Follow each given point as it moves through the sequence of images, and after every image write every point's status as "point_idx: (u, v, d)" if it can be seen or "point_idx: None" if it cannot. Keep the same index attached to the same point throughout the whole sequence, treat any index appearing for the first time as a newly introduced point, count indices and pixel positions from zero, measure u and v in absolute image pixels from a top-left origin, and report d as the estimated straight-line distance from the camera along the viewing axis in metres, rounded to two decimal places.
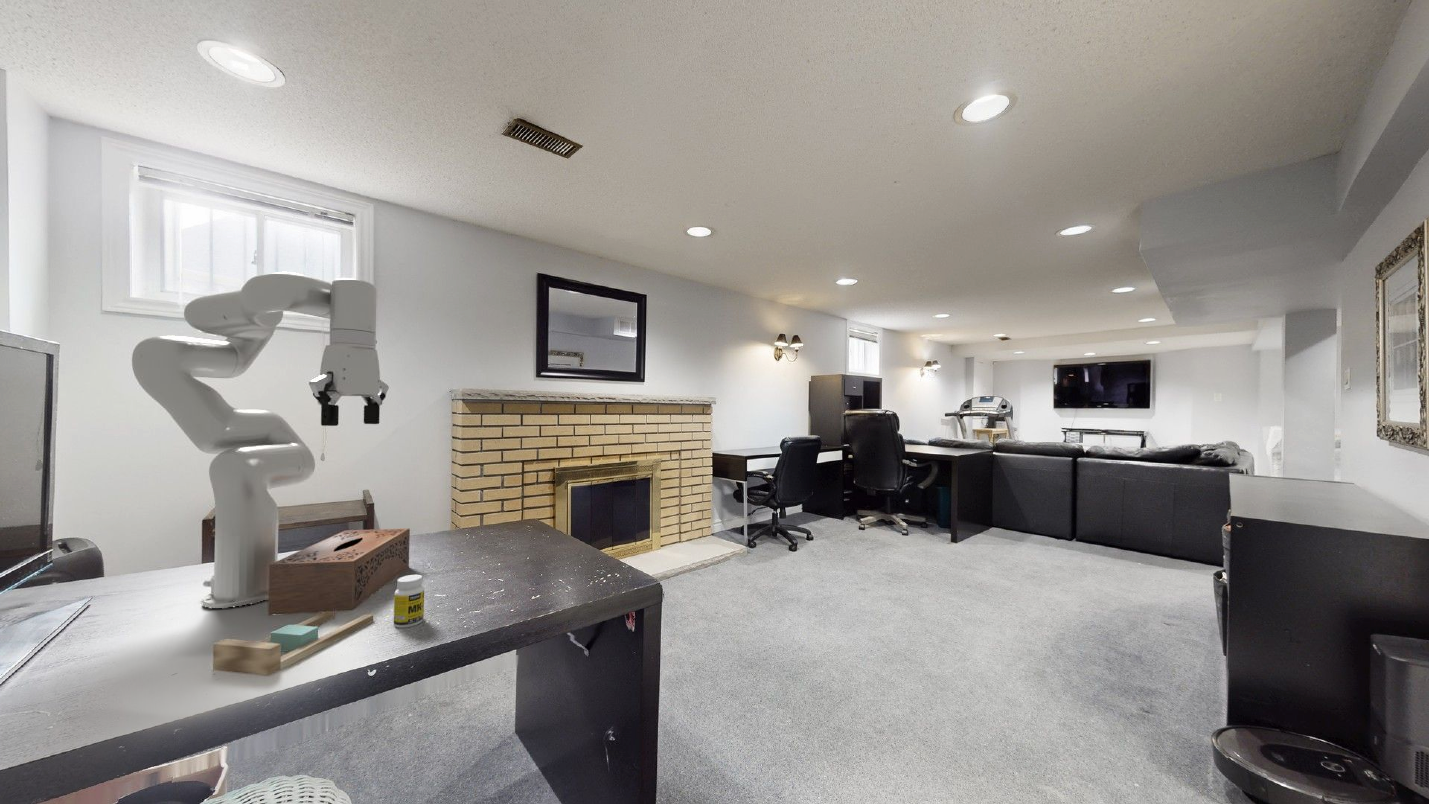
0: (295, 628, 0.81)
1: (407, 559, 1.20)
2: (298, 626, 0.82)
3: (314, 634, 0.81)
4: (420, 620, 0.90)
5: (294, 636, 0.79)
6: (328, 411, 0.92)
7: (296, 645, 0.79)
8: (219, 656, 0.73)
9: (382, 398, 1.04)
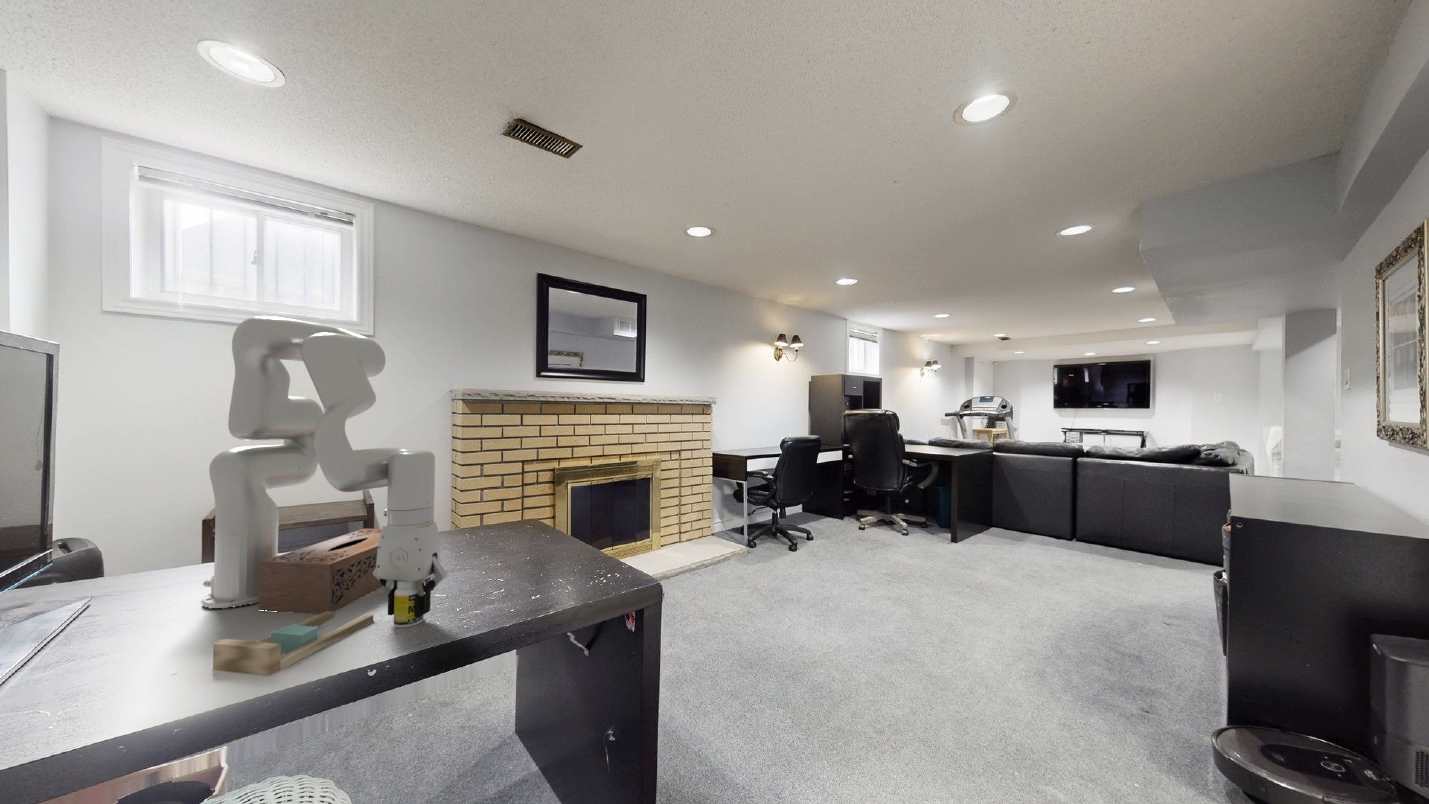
0: (295, 628, 0.81)
1: None
2: (298, 626, 0.82)
3: (314, 634, 0.81)
4: (420, 620, 0.90)
5: (294, 636, 0.79)
6: (430, 598, 0.90)
7: (296, 645, 0.79)
8: (219, 656, 0.73)
9: None
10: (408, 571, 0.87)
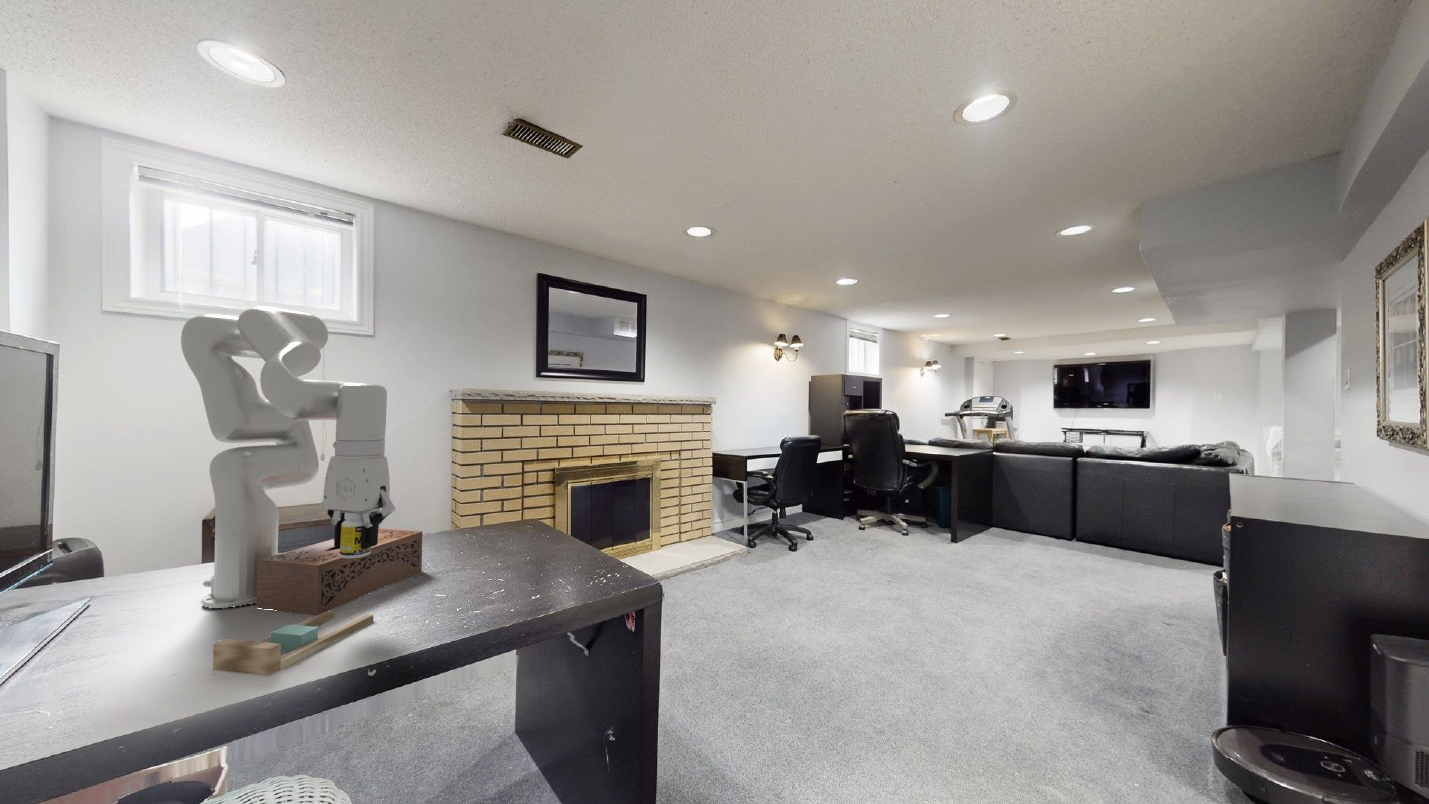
0: (295, 628, 0.81)
1: (418, 563, 1.17)
2: (298, 626, 0.82)
3: (314, 634, 0.81)
4: (367, 552, 0.90)
5: (294, 636, 0.79)
6: (377, 531, 0.90)
7: (296, 645, 0.79)
8: (219, 656, 0.73)
9: None
10: (355, 502, 0.87)
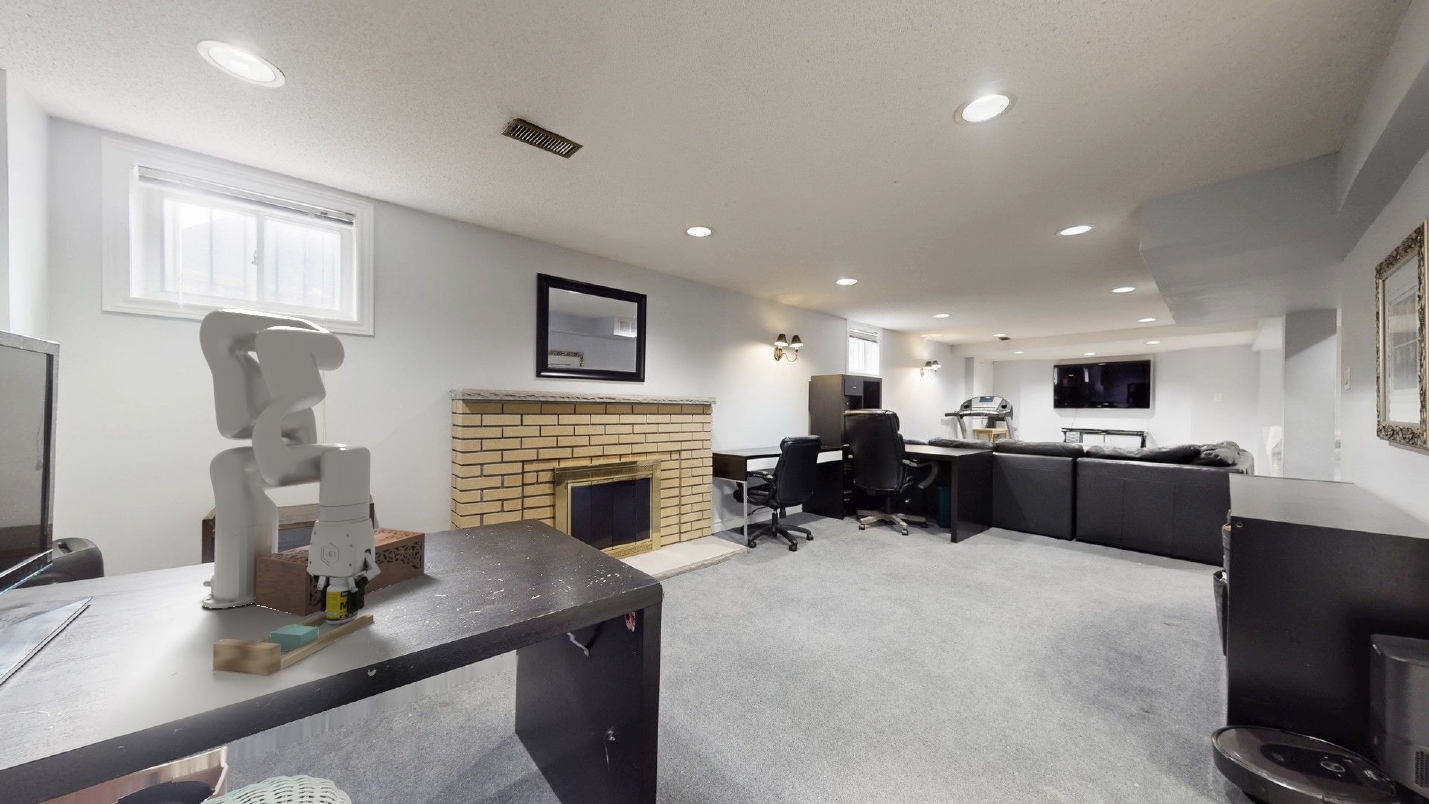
0: (295, 628, 0.81)
1: (420, 565, 1.15)
2: (298, 626, 0.82)
3: (314, 634, 0.81)
4: (353, 616, 0.89)
5: (294, 636, 0.79)
6: (363, 594, 0.90)
7: (296, 645, 0.79)
8: (219, 656, 0.73)
9: None
10: (339, 567, 0.87)
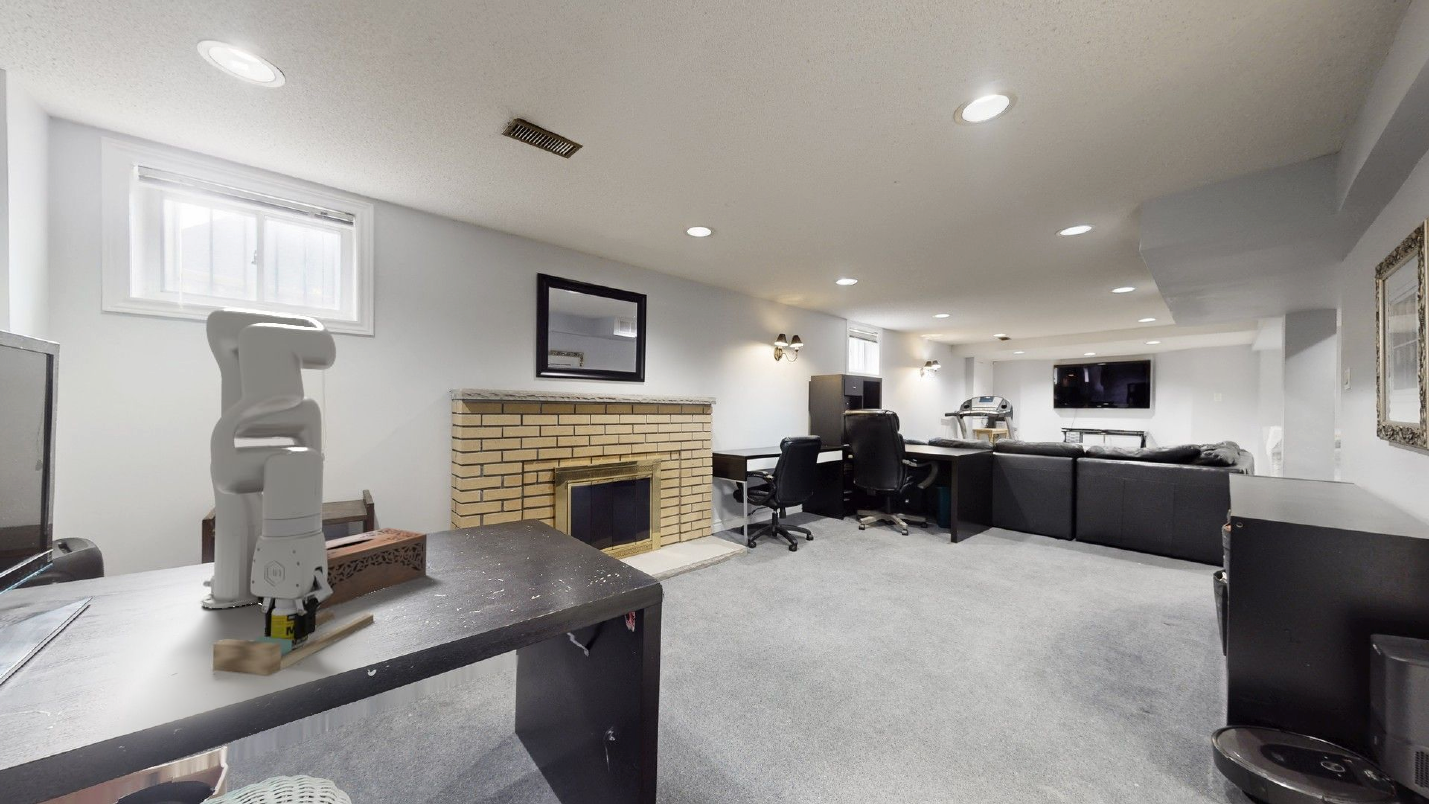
0: (267, 641, 0.77)
1: (422, 566, 1.14)
2: (270, 639, 0.77)
3: (287, 647, 0.77)
4: (302, 642, 0.80)
5: None
6: (314, 617, 0.80)
7: None
8: (219, 656, 0.73)
9: None
10: (285, 588, 0.77)
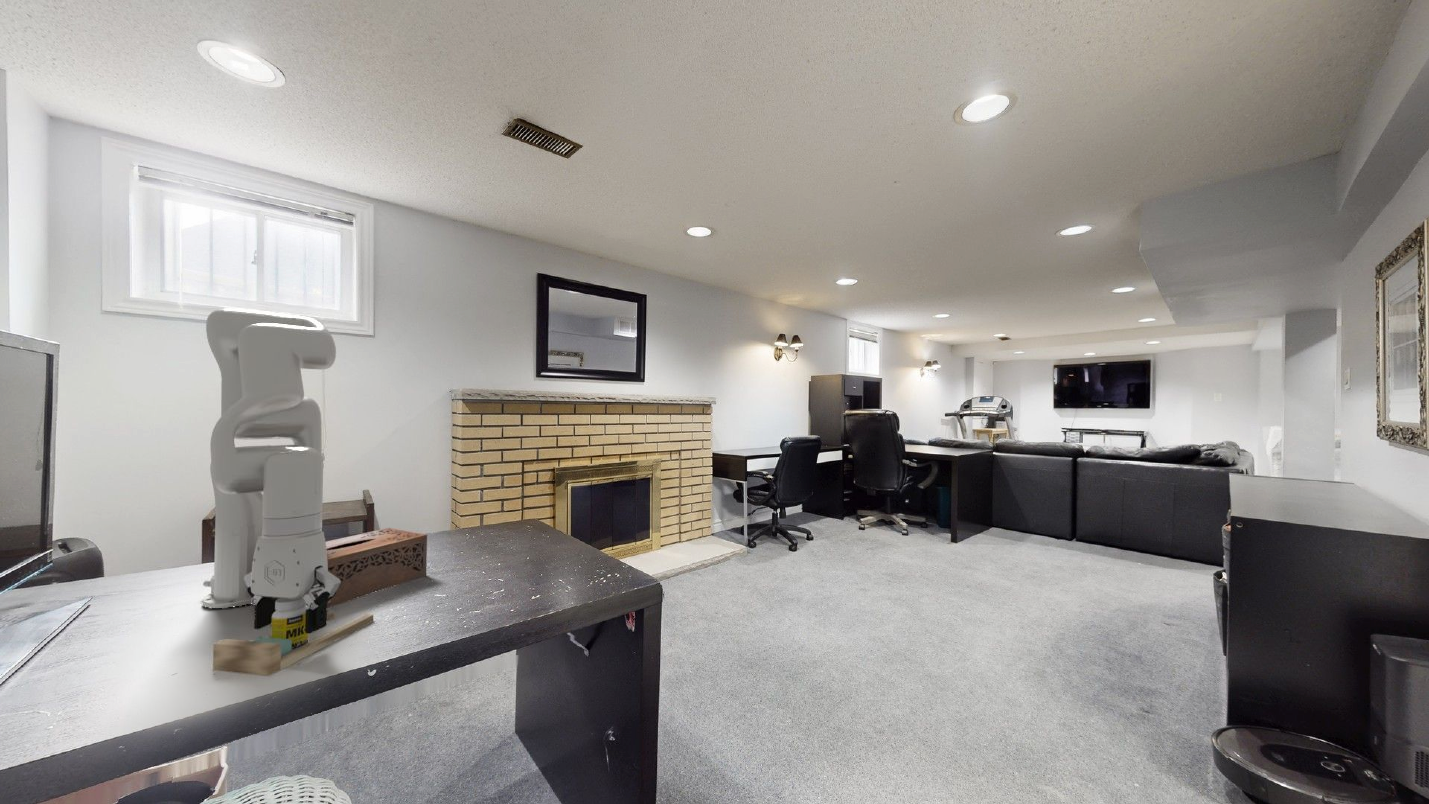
0: (267, 641, 0.77)
1: (422, 567, 1.14)
2: (270, 639, 0.77)
3: (287, 647, 0.77)
4: (302, 645, 0.80)
5: None
6: (325, 611, 0.80)
7: None
8: (219, 656, 0.73)
9: None
10: (285, 587, 0.77)
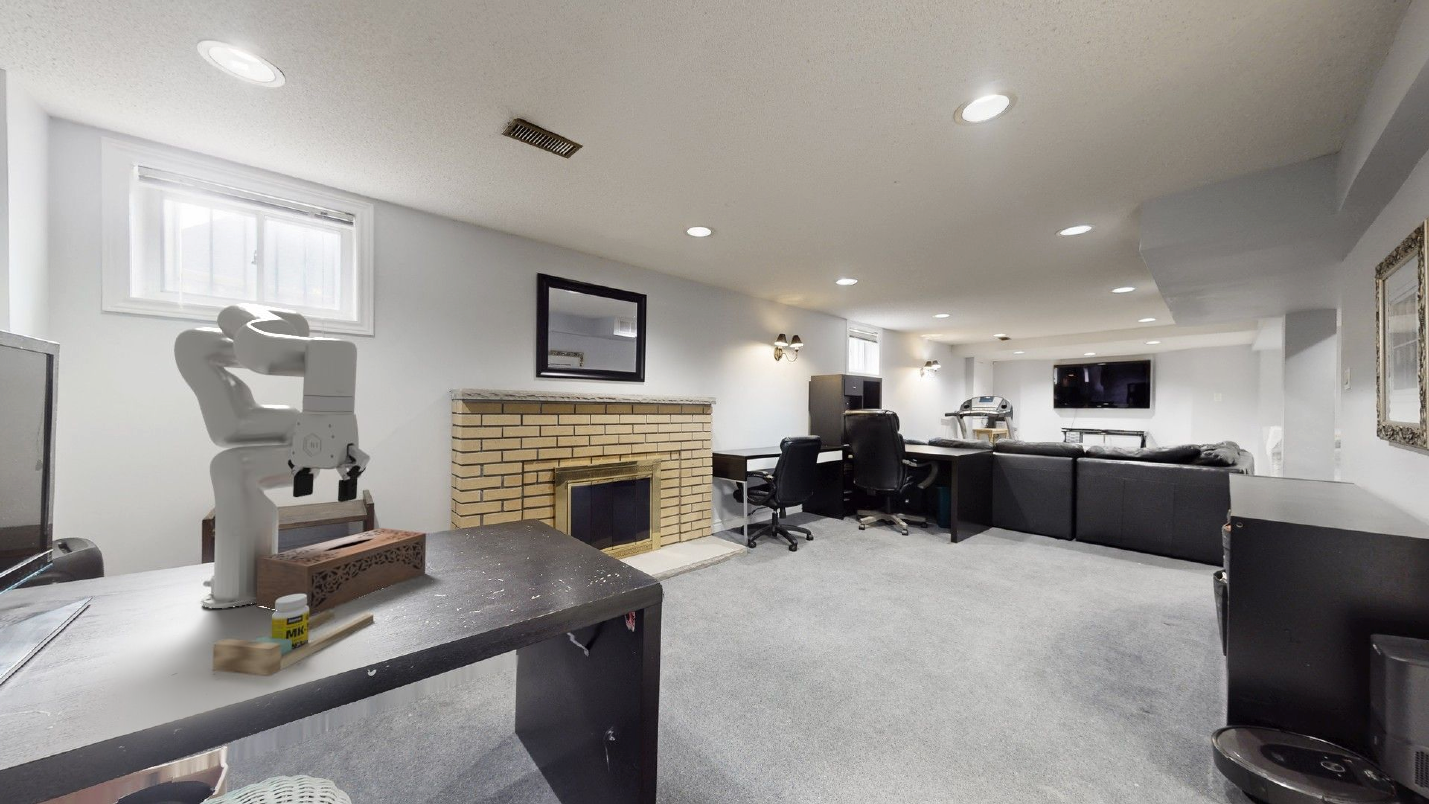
0: (267, 641, 0.77)
1: (421, 565, 1.15)
2: (270, 639, 0.77)
3: (287, 647, 0.77)
4: (302, 645, 0.80)
5: None
6: (356, 485, 0.88)
7: None
8: (219, 656, 0.73)
9: None
10: (321, 458, 0.85)
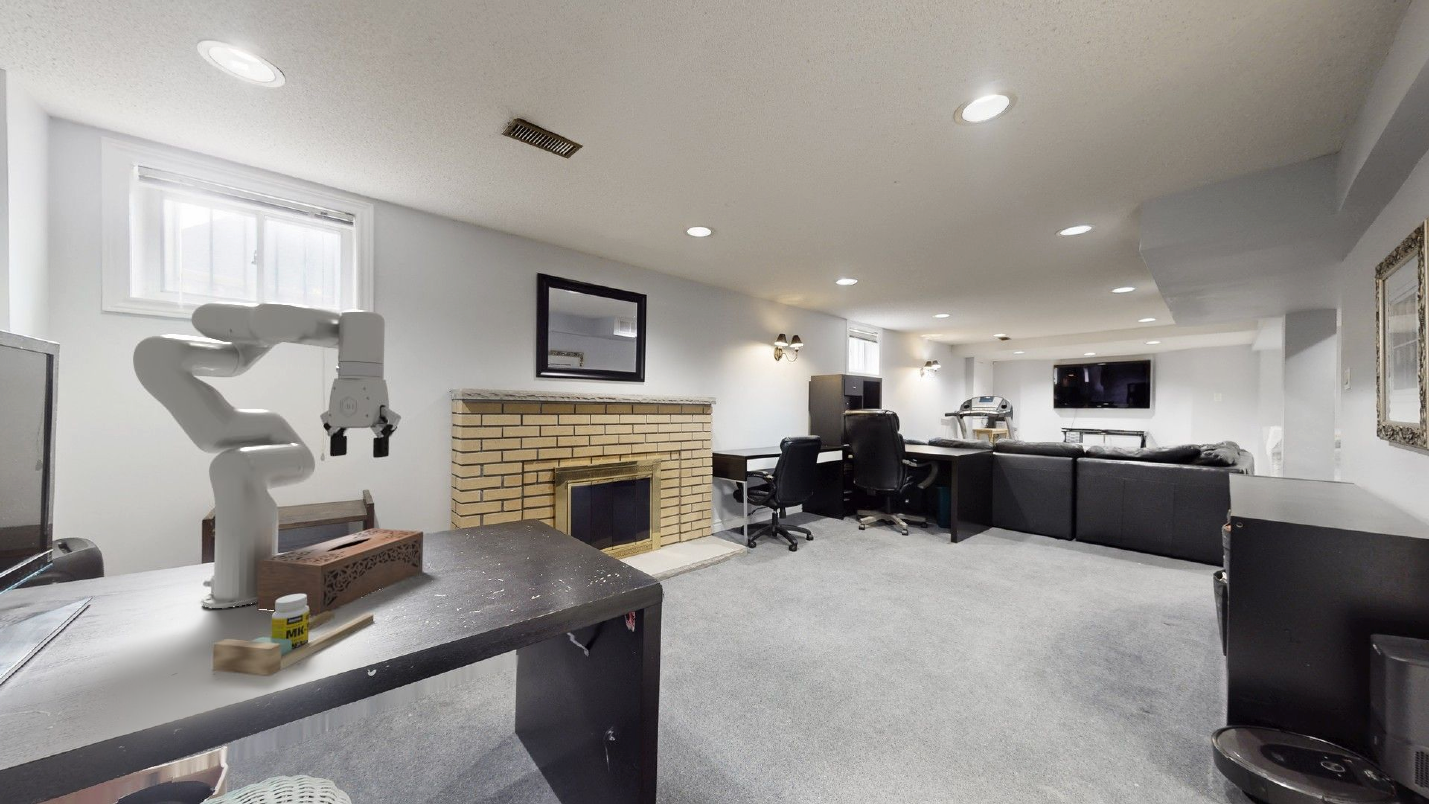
0: (267, 641, 0.77)
1: (419, 563, 1.17)
2: (270, 639, 0.77)
3: (287, 647, 0.77)
4: (302, 645, 0.80)
5: None
6: (388, 443, 0.97)
7: None
8: (219, 656, 0.73)
9: None
10: (357, 418, 0.94)
